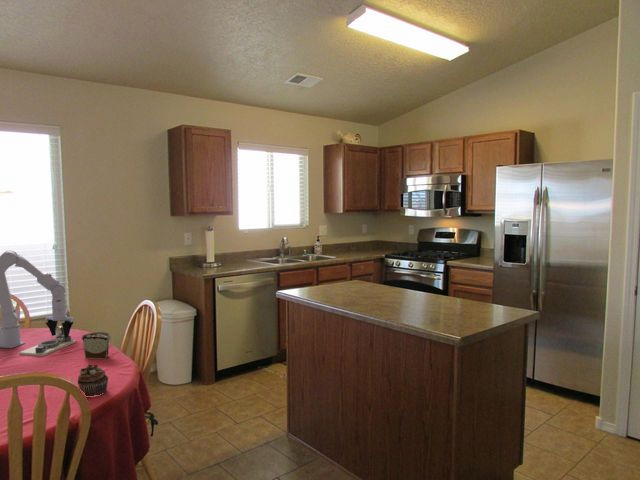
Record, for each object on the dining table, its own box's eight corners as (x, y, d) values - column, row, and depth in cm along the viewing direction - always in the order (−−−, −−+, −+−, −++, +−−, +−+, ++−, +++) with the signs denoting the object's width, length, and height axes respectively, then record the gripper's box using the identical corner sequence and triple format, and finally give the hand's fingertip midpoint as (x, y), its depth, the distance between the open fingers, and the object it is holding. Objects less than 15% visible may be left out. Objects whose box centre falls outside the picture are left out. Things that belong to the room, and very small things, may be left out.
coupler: (53, 340, 217) (53, 327, 217) (60, 337, 221) (59, 325, 221) (61, 340, 216) (60, 328, 216) (67, 337, 220) (66, 326, 220)
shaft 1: (42, 353, 196) (42, 347, 196) (35, 353, 195) (35, 347, 195) (47, 349, 201) (47, 344, 201) (40, 350, 200) (40, 344, 200)
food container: (117, 354, 197) (116, 332, 196) (109, 359, 191) (108, 336, 190) (90, 353, 198) (89, 331, 198) (82, 358, 192) (81, 335, 191)
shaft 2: (67, 340, 214) (67, 335, 214) (71, 341, 213) (70, 336, 212) (57, 343, 210) (56, 337, 210) (60, 344, 208) (60, 338, 208)
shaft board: (19, 354, 196) (18, 348, 196) (54, 340, 216) (53, 335, 216) (42, 356, 194) (42, 350, 194) (76, 342, 214) (75, 337, 214)
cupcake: (103, 398, 153) (101, 370, 152) (73, 399, 152) (71, 371, 151) (113, 387, 163) (112, 360, 162) (85, 388, 162) (83, 361, 161)
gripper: (78, 307, 220) (79, 334, 221) (52, 305, 223) (53, 332, 224) (67, 310, 213) (68, 338, 214) (41, 309, 216) (42, 336, 217)
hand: (60, 335), depth 219 cm, fingers open, 6 cm apart
